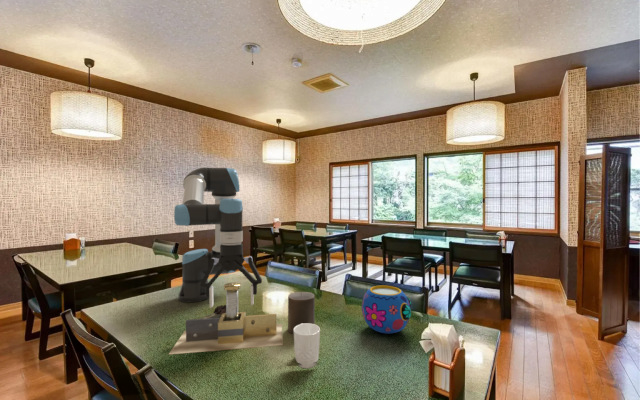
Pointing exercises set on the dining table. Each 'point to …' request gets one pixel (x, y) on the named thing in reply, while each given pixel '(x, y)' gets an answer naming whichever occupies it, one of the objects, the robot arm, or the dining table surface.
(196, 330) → the hinge
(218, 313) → the branch with fungus
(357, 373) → the dining table surface
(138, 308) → the dining table surface
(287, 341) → the dining table surface
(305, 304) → the pillar candle
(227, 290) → the hinge pin
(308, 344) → the white cup
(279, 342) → the mounting board
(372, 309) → the ceramic pot
